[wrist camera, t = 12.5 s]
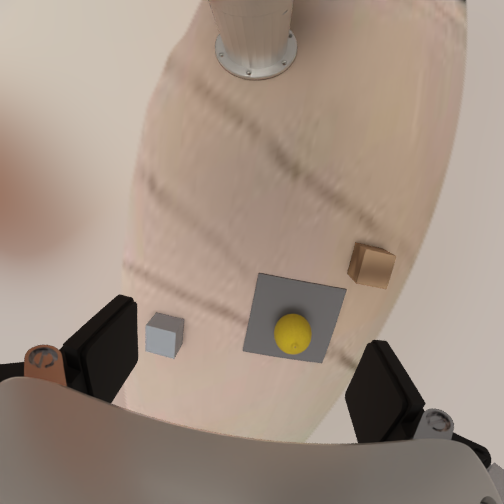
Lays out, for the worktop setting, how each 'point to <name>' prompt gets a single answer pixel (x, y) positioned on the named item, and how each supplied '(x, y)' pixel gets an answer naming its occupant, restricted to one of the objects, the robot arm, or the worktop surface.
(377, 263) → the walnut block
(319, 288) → the mat
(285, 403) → the worktop surface
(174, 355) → the slate block
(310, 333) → the lemon
